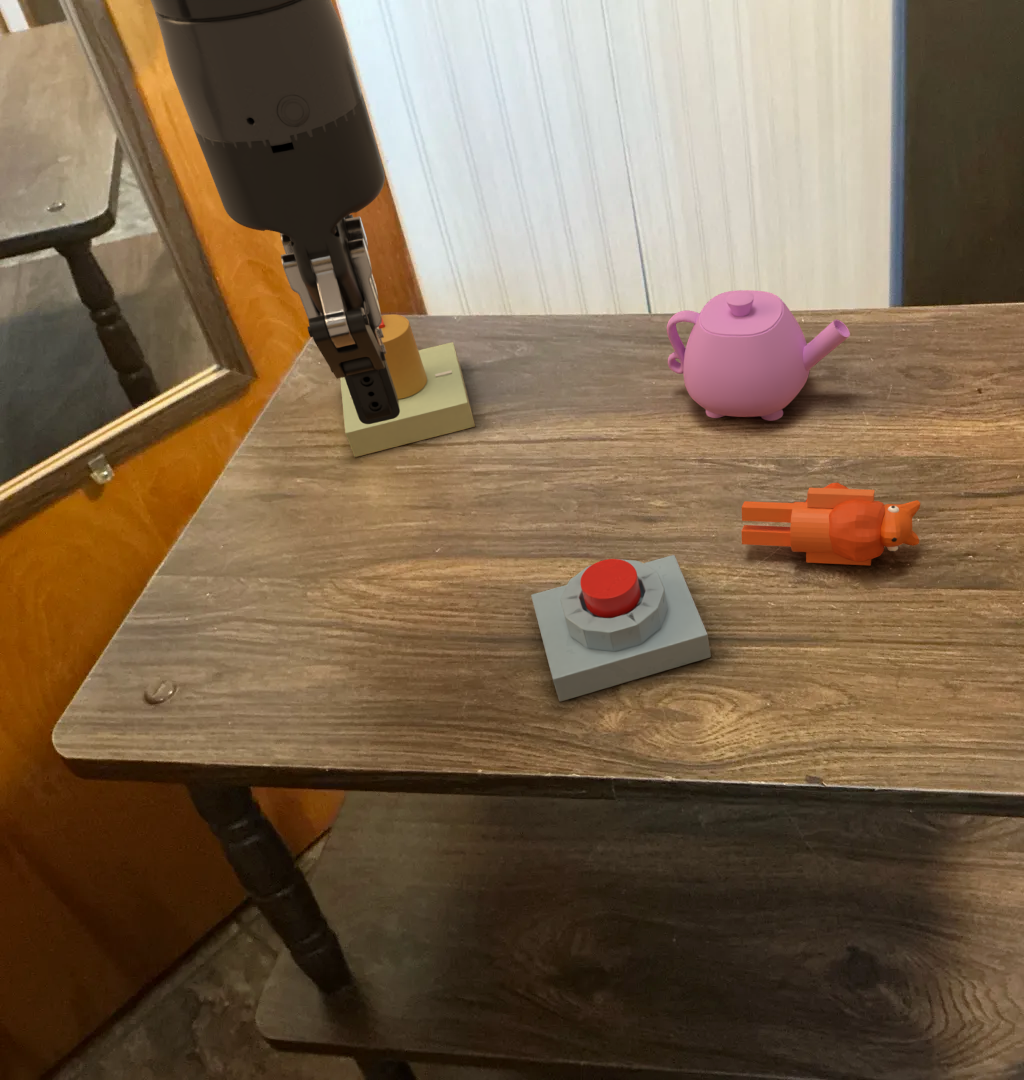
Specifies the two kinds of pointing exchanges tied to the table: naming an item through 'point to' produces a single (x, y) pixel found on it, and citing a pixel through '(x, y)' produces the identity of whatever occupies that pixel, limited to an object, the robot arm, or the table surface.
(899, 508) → the orange fox minifigure
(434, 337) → the table surface
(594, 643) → the grey button base
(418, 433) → the plate
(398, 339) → the lock knob
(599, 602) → the bell button
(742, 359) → the teapot
